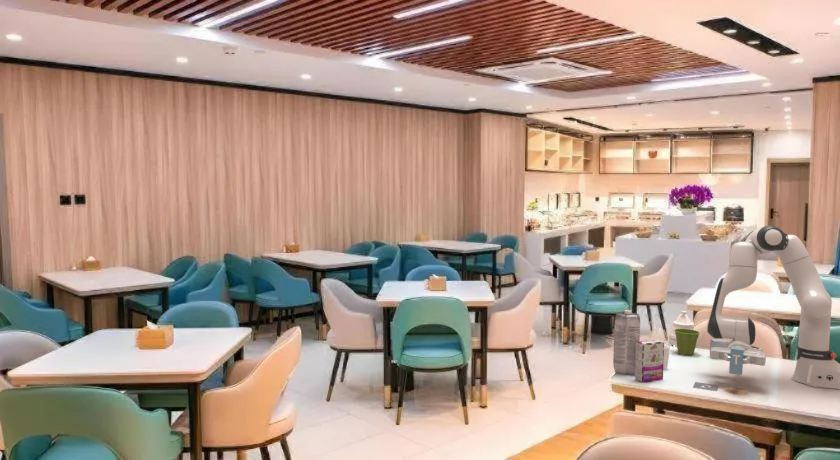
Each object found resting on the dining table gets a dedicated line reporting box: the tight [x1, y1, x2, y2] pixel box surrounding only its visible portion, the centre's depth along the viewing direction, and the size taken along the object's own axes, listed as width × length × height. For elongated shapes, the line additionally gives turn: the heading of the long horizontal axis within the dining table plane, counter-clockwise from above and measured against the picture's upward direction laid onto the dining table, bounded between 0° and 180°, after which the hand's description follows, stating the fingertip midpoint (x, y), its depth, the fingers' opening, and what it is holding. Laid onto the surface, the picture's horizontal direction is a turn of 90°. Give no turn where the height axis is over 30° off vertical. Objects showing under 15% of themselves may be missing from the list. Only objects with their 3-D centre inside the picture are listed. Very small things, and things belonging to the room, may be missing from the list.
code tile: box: [692, 381, 720, 392], centre depth 264 cm, size 9×9×1 cm
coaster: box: [723, 386, 750, 396], centre depth 259 cm, size 9×9×1 cm
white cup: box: [663, 344, 670, 371], centre depth 291 cm, size 8×8×10 cm
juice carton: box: [612, 309, 641, 376], centre depth 283 cm, size 9×10×27 cm
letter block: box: [728, 346, 744, 376], centre depth 258 cm, size 4×5×10 cm
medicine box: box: [709, 338, 731, 360], centre depth 311 cm, size 8×4×9 cm, turn 84°
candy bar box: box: [634, 339, 665, 383], centre depth 273 cm, size 11×5×16 cm, turn 112°
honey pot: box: [668, 310, 697, 348], centre depth 335 cm, size 13×13×18 cm
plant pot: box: [674, 329, 701, 356], centre depth 318 cm, size 12×12×11 cm
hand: (736, 360), depth 257 cm, fingers closed on letter block, 4 cm apart
